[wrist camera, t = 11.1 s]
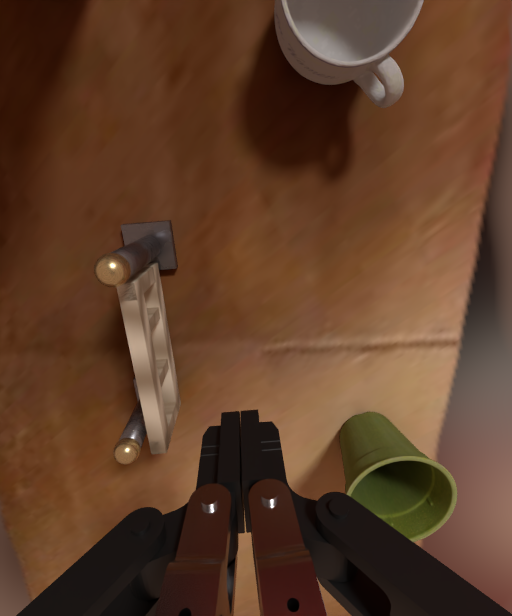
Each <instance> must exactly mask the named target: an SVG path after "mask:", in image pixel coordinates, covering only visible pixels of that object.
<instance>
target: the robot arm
mask: <svg viewBox="0 0 512 616" xmlns="http://www.w3.org/2000/svg"><path fill="white" fill-rule="evenodd" d="M244 510H245V521H246V532H247V533H248V532H251V535H252V546H253V558H254V567H255V575H256V584H257V592H258V600H259V609H260V616H327V613H326V610H325V606H324V602H323V599H322V595H321V591H320V588H319V584H318V580H319V582H320V584H321V585H322V586H323V587H324V588H325V589H326V590H327V591H328V592H329V593H330V594H331V595H332V596H333V597H334V598H335V599H336V600H337V601H338V602H339V603H340V604H341V605H342V606H343V607H344V608H345V609H346V610H347V611H348V612H349V613H350V614H351V615H352V616H512V614H511V613H510V612H508V611H507V610H505V609H504V608H503V607H501V606H500V605H499V604H497V603H496V602H495V601H493V600H492V599H490V598H489V597H488V596H486V595H485V594H484V593H482V592H481V591H479V590H478V589H477V588H475V587H474V586H473V585H471V584H470V583H468V582H467V581H466V580H464V579H463V578H461V577H460V576H459V575H457V574H456V573H455V572H453V571H452V570H451V569H449V568H448V567H447V566H445V565H444V564H442V563H441V562H440V561H438V560H437V559H436V558H434V557H433V556H431V555H430V554H429V553H427V552H426V551H424V550H423V549H422V548H420V547H419V546H418V545H416V544H415V543H414V542H412V541H411V540H409V539H408V538H407V537H405V536H404V535H403V534H401V533H400V532H398V531H397V530H396V529H394V528H393V527H392V526H390V525H389V524H387V523H386V522H385V521H383V520H382V519H381V518H379V517H378V516H377V515H375V514H374V513H372V512H371V511H370V510H368V509H367V508H366V507H364V506H363V505H361V504H360V503H359V502H357V501H356V500H355V499H353V498H352V497H350V496H349V495H346V494H344V493H340V492H330V493H327V494H325V495H323V496H322V497H321V498H320V499H319V500H318V501H316V500H311V499H307V498H303V497H301V496H299V495H297V494H296V493H295V492H293V491H292V490H291V488H290V487H289V485H288V483H287V479H286V473H285V467H284V461H283V455H282V450H281V443H280V437H279V431H278V429H277V427H276V426H275V425H274V424H273V422H272V421H271V422H259V415H258V410H248V411H241V424H240V413H239V411H236V412H223V413H222V415H221V426H210V427H209V428H208V429H207V431H206V432H205V434H204V435H203V440H202V448H201V457H200V463H199V471H198V478H197V486H196V491H194V492H193V494H192V495H191V497H190V499H189V502H188V503H187V504H185V505H184V506H183V507H181V508H179V509H177V510H175V511H172V512H170V513H167V514H164V515H162V513H161V512H160V511H159V510H157V509H155V508H152V507H145V508H140V509H137V510H135V511H133V512H132V513H130V514H129V515H128V516H126V517H125V518H124V519H123V520H122V521H121V522H120V523H119V524H118V525H116V526H115V527H114V528H113V529H112V530H111V531H110V532H109V533H108V534H106V535H105V536H104V537H103V538H102V539H101V540H100V541H99V542H98V543H96V544H95V545H94V546H93V547H92V548H91V549H90V550H89V551H88V552H86V553H85V554H84V555H83V556H82V557H81V558H80V559H79V560H78V561H76V562H75V563H74V564H73V565H72V566H71V567H70V568H69V569H68V570H66V571H65V572H64V573H63V574H62V575H61V576H60V577H59V578H58V579H56V580H55V581H54V582H53V583H52V584H51V585H50V586H49V587H48V588H46V589H45V590H44V591H43V592H42V593H41V594H40V595H39V596H38V597H36V598H35V599H34V600H33V601H32V602H31V603H30V604H29V605H28V606H26V608H24V609H23V610H22V611H21V612H20V613H19V614H18V615H17V616H233V615H234V601H235V587H236V572H237V551H238V533H245V527H244ZM317 578H318V580H317Z"/></svg>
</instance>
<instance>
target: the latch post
mask: <svg viewBox="0 0 512 616" xmlns="http://www.w3.org/2000/svg"><path fill="white" fill-rule="evenodd" d="M133 381H134V386H135V390H136V395H137V400H138V403H137V405H136V407H135V409H134V411H133V413H132V415H131V417H130V419H129V421H128V423H127V425H126V427H125V429H124V431H123V433H122V435H121V438H120V440H119V442H118V443H117V444H116V445H115V448H114V458H115V459H116V461H117V462H119V463H120V464H124V465H126V464H130V463H133V462H134V461H135V460H136V459H137V458H138V456H139V454H140V449H141V446H142V444H143V441H144V439H145V436H146V434H147V430H146V426H145V421H144V416H143V411H142V406H141V402H140V397H139V392H138V387H137V382H136V378H135V377H134V379H133Z"/></svg>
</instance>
